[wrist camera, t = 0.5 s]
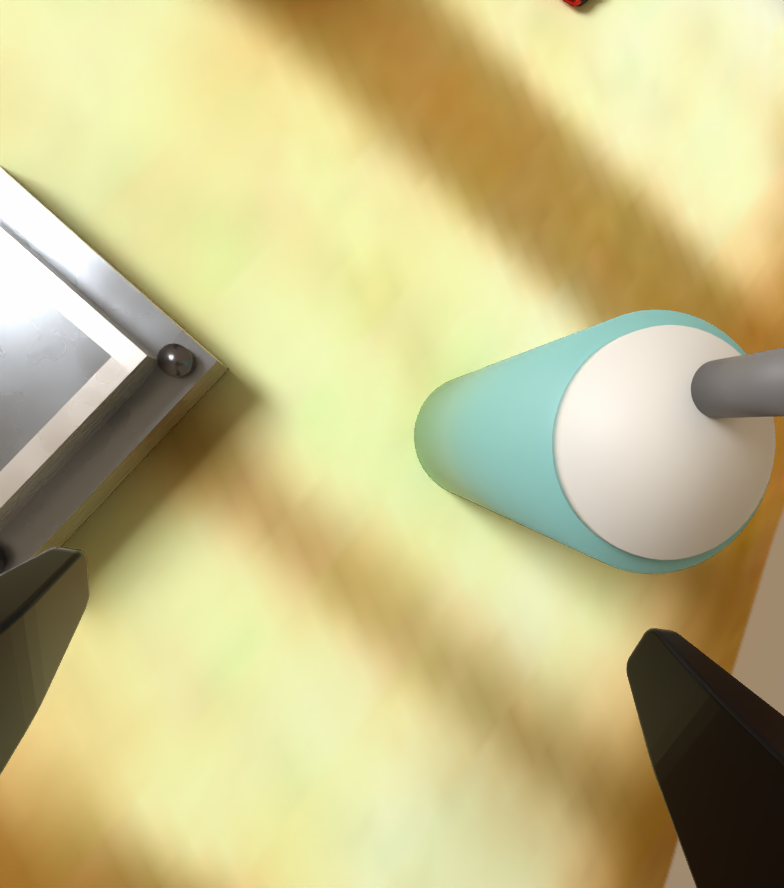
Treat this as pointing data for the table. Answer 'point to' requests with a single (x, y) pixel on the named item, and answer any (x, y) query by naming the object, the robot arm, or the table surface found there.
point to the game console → (576, 2)
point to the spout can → (615, 439)
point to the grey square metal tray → (77, 377)
